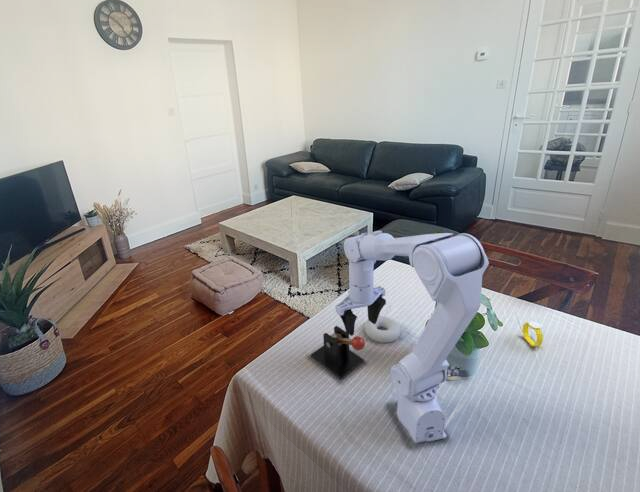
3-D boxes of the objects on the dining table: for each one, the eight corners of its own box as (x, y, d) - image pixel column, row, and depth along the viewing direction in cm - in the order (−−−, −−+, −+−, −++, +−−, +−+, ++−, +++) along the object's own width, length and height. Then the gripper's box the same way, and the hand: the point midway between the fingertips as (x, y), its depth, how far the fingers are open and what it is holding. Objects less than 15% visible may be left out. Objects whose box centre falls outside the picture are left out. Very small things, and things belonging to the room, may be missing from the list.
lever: (369, 347, 80) (365, 334, 80) (360, 353, 79) (356, 340, 79) (339, 341, 90) (335, 330, 90) (330, 347, 88) (326, 336, 88)
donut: (404, 345, 93) (396, 322, 102) (404, 336, 92) (396, 313, 101) (367, 345, 94) (362, 322, 104) (367, 336, 93) (362, 313, 102)
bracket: (364, 363, 88) (364, 336, 85) (340, 381, 83) (339, 353, 80) (333, 342, 97) (332, 316, 94) (310, 357, 92) (308, 331, 89)
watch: (518, 335, 93) (521, 317, 91) (528, 334, 93) (532, 316, 91) (532, 350, 88) (536, 331, 85) (543, 350, 87) (548, 331, 85)
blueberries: (427, 370, 84) (428, 364, 84) (447, 356, 88) (447, 350, 88) (453, 387, 79) (454, 381, 78) (472, 371, 83) (473, 365, 82)
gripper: (371, 266, 88) (371, 309, 93) (327, 284, 82) (329, 330, 86) (392, 277, 82) (390, 323, 87) (346, 297, 76) (347, 345, 81)
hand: (361, 327), depth 86 cm, fingers open, 7 cm apart
